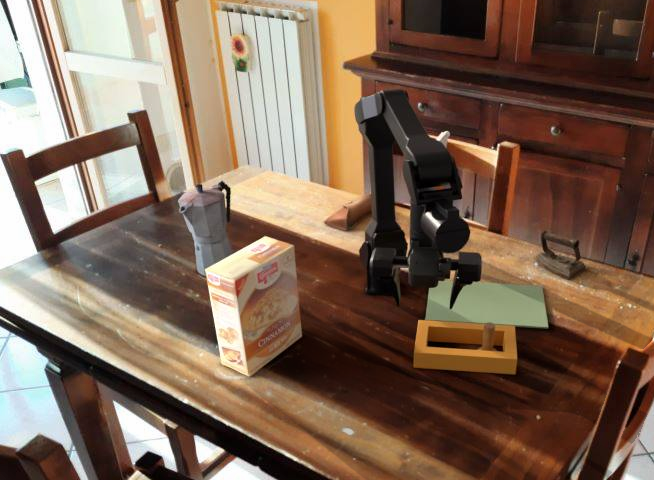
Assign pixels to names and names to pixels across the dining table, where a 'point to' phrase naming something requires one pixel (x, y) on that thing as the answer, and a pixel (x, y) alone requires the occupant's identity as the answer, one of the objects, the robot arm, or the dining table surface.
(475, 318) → the mat
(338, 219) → the sunglasses case
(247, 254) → the coffeecake box
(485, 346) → the peg stand
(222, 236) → the moka pot
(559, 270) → the clothes iron
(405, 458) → the dining table surface
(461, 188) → the robot arm
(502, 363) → the rectangular frame
